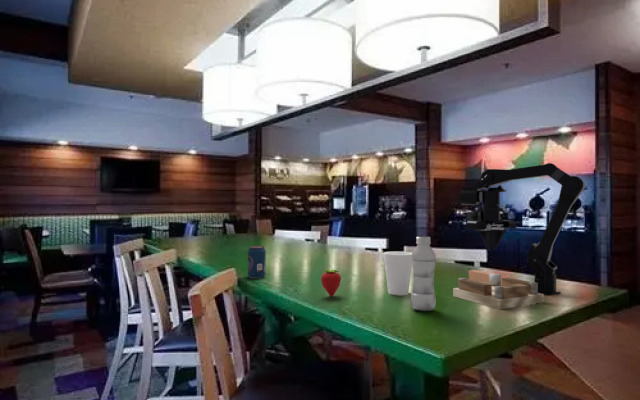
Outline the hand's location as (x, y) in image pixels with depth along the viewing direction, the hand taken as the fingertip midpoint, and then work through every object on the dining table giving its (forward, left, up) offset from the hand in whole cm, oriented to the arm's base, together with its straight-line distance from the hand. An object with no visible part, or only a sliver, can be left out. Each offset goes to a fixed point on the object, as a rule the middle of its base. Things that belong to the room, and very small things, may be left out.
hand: (491, 249), depth 148 cm
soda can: (+69, -53, -13) cm, 88 cm away
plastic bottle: (+43, +16, -13) cm, 48 cm away
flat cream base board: (+14, +15, -13) cm, 24 cm away
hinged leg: (+7, +4, -10) cm, 13 cm away
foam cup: (+36, -5, -13) cm, 39 cm away
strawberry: (+58, -10, -13) cm, 60 cm away
